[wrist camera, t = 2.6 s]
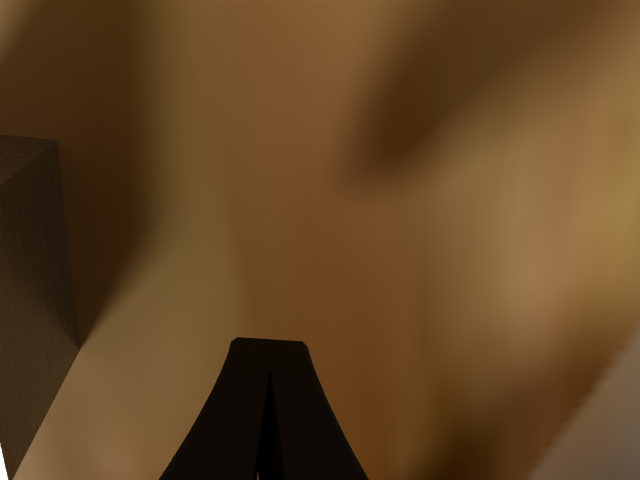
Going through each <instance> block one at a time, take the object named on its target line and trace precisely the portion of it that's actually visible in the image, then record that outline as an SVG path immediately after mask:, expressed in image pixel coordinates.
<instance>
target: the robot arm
mask: <svg viewBox="0 0 640 480" xmlns="http://www.w3.org/2000/svg"><path fill="white" fill-rule="evenodd" d="M257 474H258V478H259V480H369V479H368V477H367V476H366V474H365V472H364V470H363V469H362V467H361V465H360V463H359V462H358V460H357V458H356V456H355V454H354V453H353V451H352V449H351V447H350V445H349V443H348V441H347V440H346V438H345V436H344V434H343V432H342V430H341V427H340V425H339V423H338V421H337V419H336V417H335V415H334V413H333V411H332V409H331V407H330V405H329V403H328V401H327V398H326V396H325V394H324V391H323V389H322V387H321V384H320V382H319V379H318V377H317V374H316V372H315V369H314V366H313V363H312V360H311V357H310V354H309V351H308V347H307V346H306V345H305V344H304V342H303V341H288V340H272V339H256V338H241V337H237V338H236V339H234V340H233V341H231V344H230V348H229V352H228V355H227V357H226V360H225V363H224V365H223V368H222V370H221V372H220V375H219V377H218V379H217V381H216V383H215V385H214V387H213V389H212V391H211V393H210V395H209V397H208V399H207V401H206V403H205V404H204V406H203V408H202V410H201V412H200V414H199V416H198V417H197V419H196V421H195V423H194V425H193V426H192V428H191V430H190V431H189V433H188V435H187V436H186V438H185V439H184V441H183V443H182V444H181V446H180V447H179V449H178V451H177V452H176V454H175V455H174V457H173V459H172V460H171V462H170V463H169V465H168V466H167V468H166V470H165V471H164V473H163V474H162V476H161V477H160V478H159V480H257Z"/></svg>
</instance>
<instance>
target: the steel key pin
mask: <svg viewBox="0 0 640 480" xmlns="http://www.w3.org/2000/svg"><path fill="white" fill-rule="evenodd" d="M79 351H80V350H79V341H78V332H77V323H76V314H75V305H74V295H73V286H72V277H71V268H70V259H69V250H68V241H67V232H66V223H65V214H64V204H63V195H62V186H61V177H60V168H59V159H58V150H57V141H54V140H45V139H36V138H26V137H17V136H8V135H0V480H12V479H13V477H14V476H15V474H16V472H17V470H18V468H19V466H20V464H21V462H22V460H23V458H24V456H25V454H26V452H27V451H28V449H29V447H30V445H31V443H32V441H33V439H34V437H35V435H36V433H37V431H38V429H39V427H40V426H41V424H42V422H43V420H44V418H45V416H46V414H47V412H48V410H49V408H50V406H51V404H52V403H53V401H54V399H55V397H56V395H57V393H58V391H59V389H60V387H61V385H62V383H63V381H64V379H65V378H66V376H67V374H68V372H69V370H70V368H71V366H72V364H73V362H74V360H75V358H76V356H77V354H78V353H79Z"/></svg>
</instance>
